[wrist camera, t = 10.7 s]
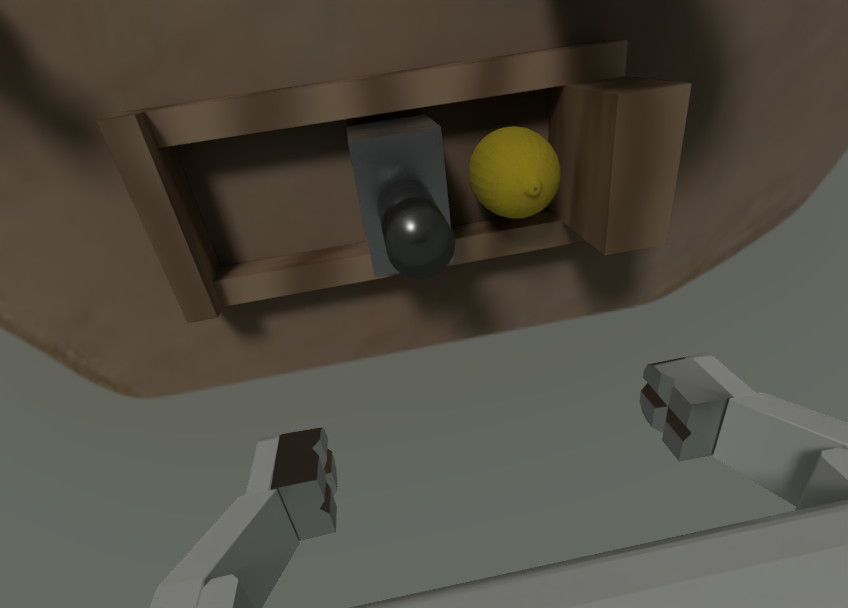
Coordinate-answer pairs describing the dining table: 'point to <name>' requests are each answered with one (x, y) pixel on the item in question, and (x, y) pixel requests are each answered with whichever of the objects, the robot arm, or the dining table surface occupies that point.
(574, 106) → the frame
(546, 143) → the lemon
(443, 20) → the dining table surface
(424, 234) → the dark upright piece
